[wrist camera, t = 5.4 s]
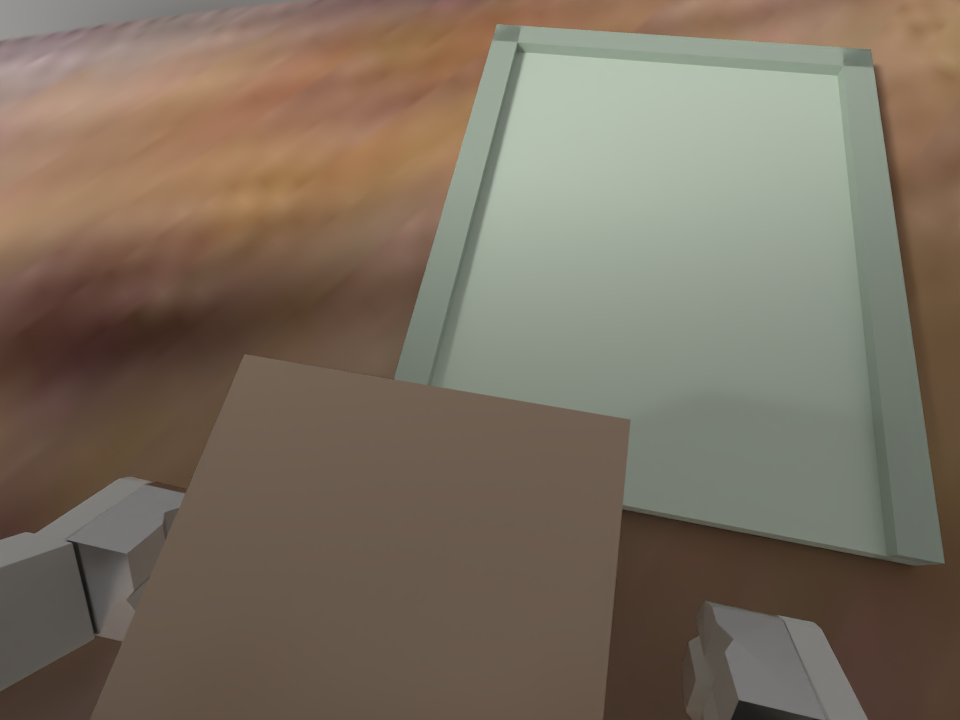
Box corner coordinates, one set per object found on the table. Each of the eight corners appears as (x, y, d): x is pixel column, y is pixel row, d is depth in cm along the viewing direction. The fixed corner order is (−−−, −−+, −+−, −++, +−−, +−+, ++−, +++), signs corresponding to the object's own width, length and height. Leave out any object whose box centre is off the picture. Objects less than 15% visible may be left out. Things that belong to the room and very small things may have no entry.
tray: (380, 462, 15) (372, 453, 14) (497, 47, 22) (497, 24, 21) (915, 565, 13) (945, 563, 12) (855, 74, 20) (871, 49, 19)
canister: (345, 680, 13) (43, 829, 5) (396, 489, 15) (245, 354, 6) (536, 729, 12) (576, 1003, 4) (563, 522, 14) (630, 419, 6)
